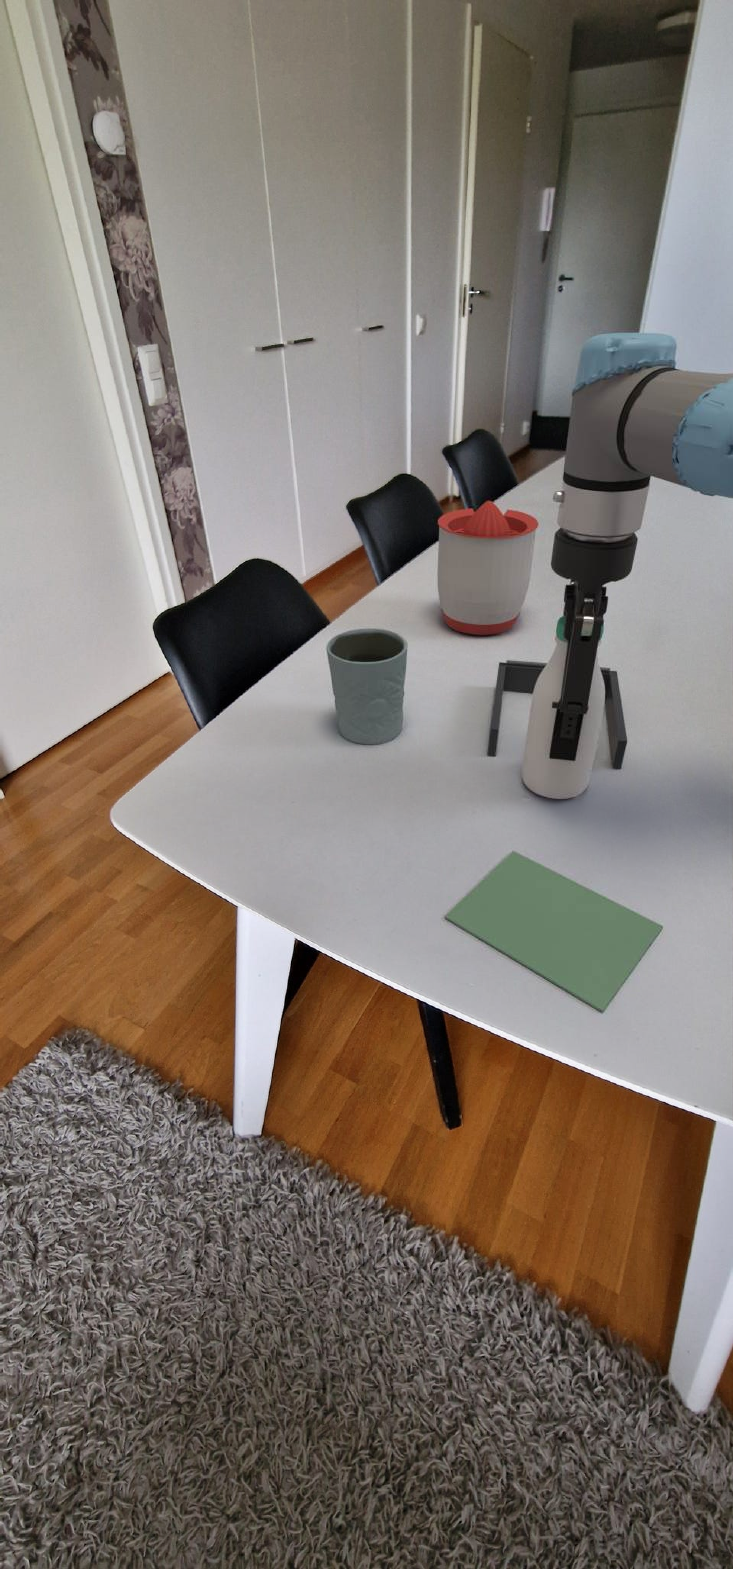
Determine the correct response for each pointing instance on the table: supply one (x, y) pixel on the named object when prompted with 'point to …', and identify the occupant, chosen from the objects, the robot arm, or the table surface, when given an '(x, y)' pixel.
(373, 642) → the grey-green cup
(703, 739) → the table surface
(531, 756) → the milk bottle
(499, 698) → the dark grey u-shaped frame
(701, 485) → the robot arm
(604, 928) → the mat
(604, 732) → the table surface
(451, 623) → the citrus juicer
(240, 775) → the table surface
